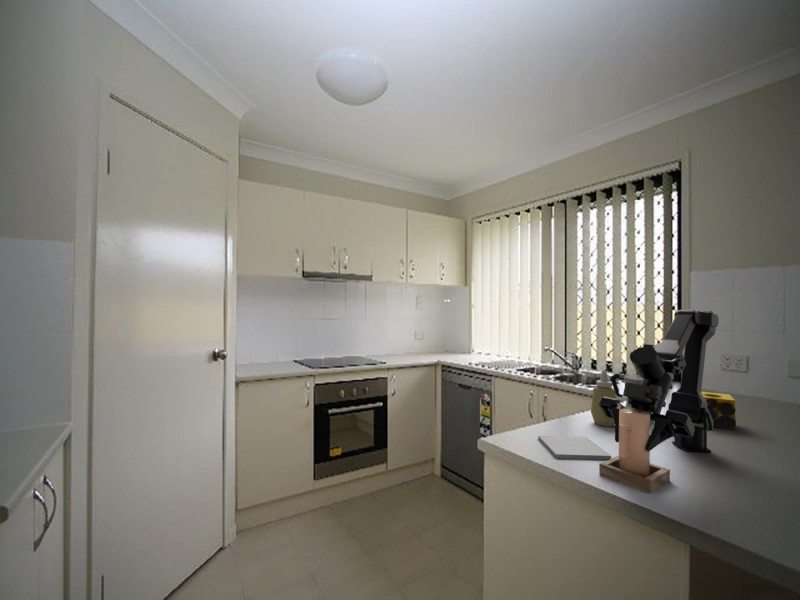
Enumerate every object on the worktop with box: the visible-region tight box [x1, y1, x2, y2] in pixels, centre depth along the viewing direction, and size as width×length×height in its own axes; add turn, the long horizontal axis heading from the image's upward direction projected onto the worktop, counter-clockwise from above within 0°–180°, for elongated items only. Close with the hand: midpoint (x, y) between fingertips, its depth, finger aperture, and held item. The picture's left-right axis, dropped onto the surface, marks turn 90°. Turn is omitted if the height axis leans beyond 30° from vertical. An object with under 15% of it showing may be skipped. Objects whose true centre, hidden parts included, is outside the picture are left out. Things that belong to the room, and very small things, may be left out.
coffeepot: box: [609, 370, 655, 426], centre depth 129 cm, size 15×9×18 cm, turn 44°
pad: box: [537, 435, 612, 460], centre depth 102 cm, size 14×14×1 cm
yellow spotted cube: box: [701, 391, 737, 431], centre depth 126 cm, size 10×10×10 cm
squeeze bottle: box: [590, 369, 617, 427], centre depth 125 cm, size 8×8×18 cm
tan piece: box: [618, 409, 651, 478], centre depth 84 cm, size 9×6×15 cm
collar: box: [598, 455, 671, 494], centre depth 85 cm, size 10×10×2 cm
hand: (631, 445), depth 84 cm, fingers closed on tan piece, 6 cm apart
